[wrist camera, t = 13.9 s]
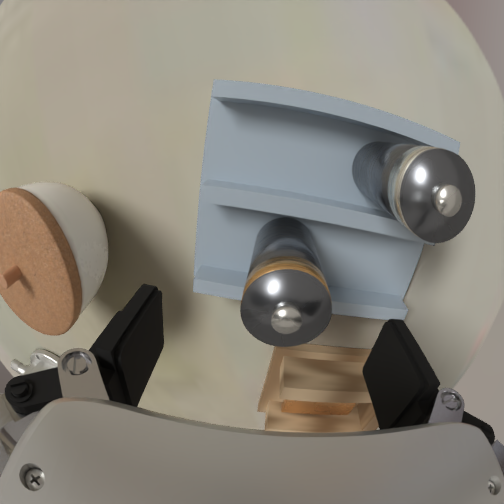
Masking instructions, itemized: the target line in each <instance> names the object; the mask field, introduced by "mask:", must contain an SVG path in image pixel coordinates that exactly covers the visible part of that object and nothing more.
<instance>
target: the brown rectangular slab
mask: <svg viewBox="0 0 504 504" xmlns="http://www.w3.org/2000/svg"><path fill="white" fill-rule="evenodd" d="M355 404H356V403H330V402H310V401H296V400H285V399H284V400H283V403H282V405H281V412H287V413H300V414H318V415H348V414H349V413H350V412H351V410H352V409H353V407H354V406H355Z"/></svg>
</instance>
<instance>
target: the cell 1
mask: <svg viewBox="0 0 504 504" xmlns="http://www.w3.org/2000/svg"><path fill="white" fill-rule="evenodd" d="M240 311H241V318H242V321H243V324H244V326H245V327H246V329H247V330H248V331H249V332H250V333H251V334H252V335H253V336H254V337H255V338H257V339H258V340H260V341H262V342H264V343H266V344H269V345H273V346H278V347H292V346H298V345H301V344H305V343H307V342H309V341H311V340H313V339H314V338H316V337H317V336H319V335H320V334H321V333H322V332H323V331H324V329H325V328H326V327H327V325H328V323H329V321H330V318H331V315H332V301H331V296H330V293H329V289H328V285H327V282H326V279H325V277H324V274H323V271H322V267H321V264H320V260H319V257H318V254H317V251H316V247H315V244H314V241H313V238H312V235H311V233H310V231H309V229H308V228H307V227H306V226H305V225H304V224H303V223H301V222H300V221H298V220H296V219H293V218H287V217H282V218H276V219H273V220H271V221H269V222H267V223H266V224H265V225H264V226H263V227H262V228H261V229H260V231H259V232H258V234H257V237H256V241H255V246H254V250H253V254H252V259H251V263H250V268H249V272H248V276H247V280H246V283H245V287H244V291H243V295H242V300H241V310H240Z"/></svg>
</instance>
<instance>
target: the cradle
mask: <svg viewBox="0 0 504 504" xmlns="http://www.w3.org/2000/svg"><path fill="white" fill-rule="evenodd" d="M371 350H372V349H357V348H344V347H333V346H322V345H313V344H301V345H298V346H292V347H278V346H275V347H274V351H273V354H272V358H271V362H270V365H269V369H268V372H267V376H266V379H265V383H264V386H263V390H262V393H261V396H260V400H259V403H258V412H266V419H265V431H279V432H301V433H336V432H358V431H371V430H376V429H377V428H378V427H379V425H378V421H377V418H376V415H375V411H374V408H373V405H372V401H371V398H370V395H369V392H368V389H367V386H366V383H365V379H364V376H363V373H362V370H363V366H364V364H365V362H366V360H367V358H368V356H369V354H370V352H371ZM284 399H285V400H296V401H310V402H330V403H356V404H355V406H354V407H353V409H352V410H351V412H350V413H349V414H348V415H318V414H300V413H287V412H281V405H282V403H283V400H284Z"/></svg>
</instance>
